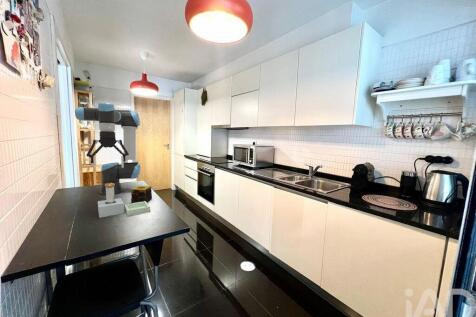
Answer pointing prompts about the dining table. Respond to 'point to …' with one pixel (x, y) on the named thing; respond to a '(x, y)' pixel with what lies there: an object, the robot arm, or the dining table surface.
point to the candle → (141, 194)
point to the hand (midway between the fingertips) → (109, 168)
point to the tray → (136, 208)
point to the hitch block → (110, 208)
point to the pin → (110, 193)
